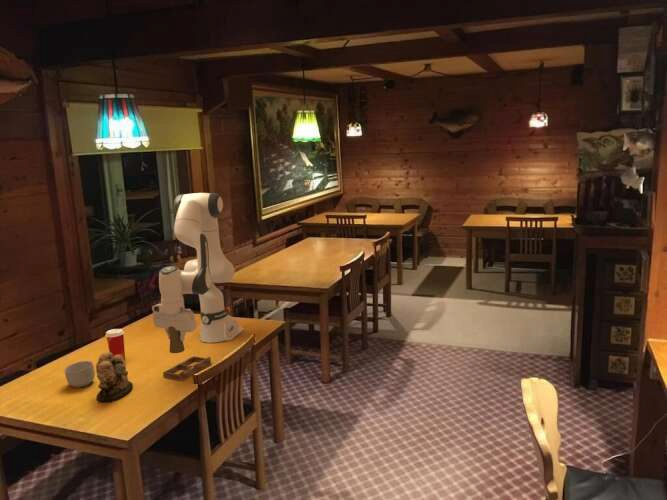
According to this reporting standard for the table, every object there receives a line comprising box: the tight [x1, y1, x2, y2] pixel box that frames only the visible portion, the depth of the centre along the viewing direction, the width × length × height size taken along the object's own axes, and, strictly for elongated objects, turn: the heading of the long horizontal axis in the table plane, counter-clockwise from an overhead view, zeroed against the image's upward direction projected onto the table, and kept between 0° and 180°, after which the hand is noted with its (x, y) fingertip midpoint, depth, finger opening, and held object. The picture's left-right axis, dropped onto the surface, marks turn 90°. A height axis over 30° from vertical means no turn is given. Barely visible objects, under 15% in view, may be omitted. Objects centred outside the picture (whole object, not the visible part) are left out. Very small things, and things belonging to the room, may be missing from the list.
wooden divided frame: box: [162, 355, 212, 382], centre depth 235 cm, size 18×10×4 cm, turn 152°
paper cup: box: [105, 328, 126, 362], centre depth 247 cm, size 8×8×14 cm
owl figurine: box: [95, 351, 134, 403], centre depth 215 cm, size 18×12×17 cm, turn 177°
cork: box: [168, 326, 185, 354], centre depth 228 cm, size 6×6×11 cm
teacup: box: [63, 359, 96, 388], centre depth 227 cm, size 14×11×8 cm
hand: (176, 339), depth 228 cm, fingers closed on cork, 4 cm apart
